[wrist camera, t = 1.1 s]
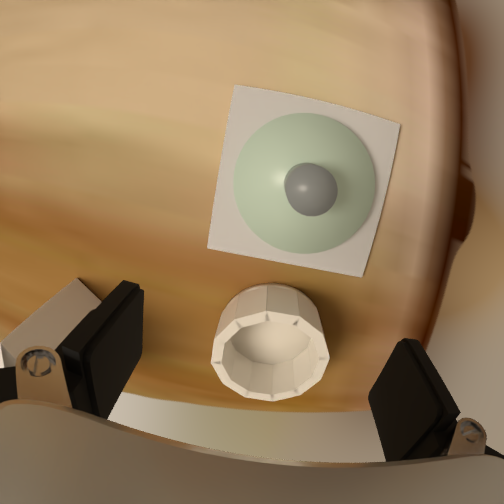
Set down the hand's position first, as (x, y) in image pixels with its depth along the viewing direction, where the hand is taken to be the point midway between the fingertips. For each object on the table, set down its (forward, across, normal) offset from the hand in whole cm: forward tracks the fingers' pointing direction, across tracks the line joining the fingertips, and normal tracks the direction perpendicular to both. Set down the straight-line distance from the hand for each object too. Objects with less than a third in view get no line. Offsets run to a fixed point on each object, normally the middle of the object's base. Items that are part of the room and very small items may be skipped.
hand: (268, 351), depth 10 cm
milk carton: (+20, +20, +17) cm, 33 cm away
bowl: (+20, -3, +12) cm, 24 cm away
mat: (+20, -2, -4) cm, 21 cm away
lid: (+20, -2, -4) cm, 20 cm away
